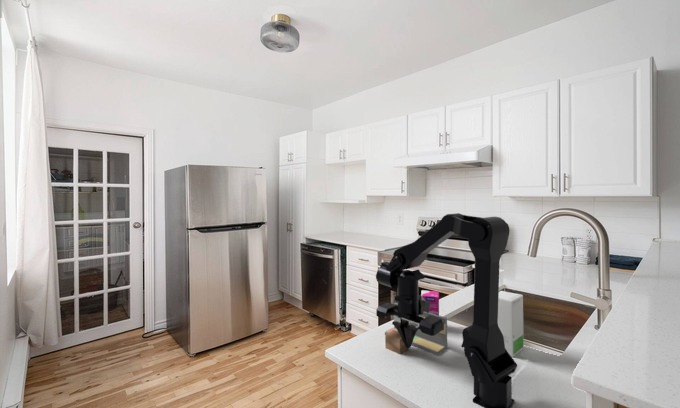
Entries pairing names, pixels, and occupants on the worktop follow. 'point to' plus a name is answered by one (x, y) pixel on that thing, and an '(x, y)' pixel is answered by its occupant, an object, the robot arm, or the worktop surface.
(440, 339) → the tuner gauge
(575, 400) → the worktop surface
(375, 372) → the worktop surface
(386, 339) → the block
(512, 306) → the skincare box
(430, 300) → the supplement box
